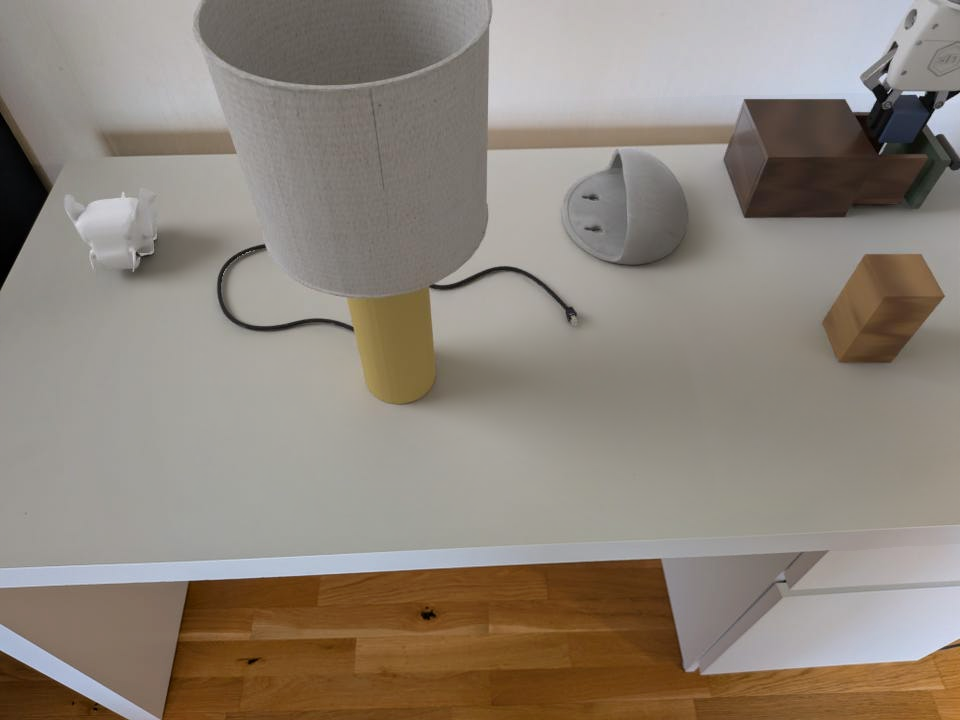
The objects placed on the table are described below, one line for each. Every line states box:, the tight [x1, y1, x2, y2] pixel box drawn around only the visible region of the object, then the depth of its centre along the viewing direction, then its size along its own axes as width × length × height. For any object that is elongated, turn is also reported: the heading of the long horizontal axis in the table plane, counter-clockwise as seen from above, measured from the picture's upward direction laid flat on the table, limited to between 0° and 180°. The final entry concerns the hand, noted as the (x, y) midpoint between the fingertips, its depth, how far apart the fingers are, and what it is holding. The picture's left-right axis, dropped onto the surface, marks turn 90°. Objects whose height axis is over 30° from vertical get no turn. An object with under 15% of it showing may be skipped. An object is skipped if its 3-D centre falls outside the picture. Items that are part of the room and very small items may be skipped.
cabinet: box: [723, 98, 879, 218], centre depth 91 cm, size 14×13×10 cm
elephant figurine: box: [63, 187, 158, 276], centre depth 82 cm, size 10×12×9 cm
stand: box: [821, 253, 946, 363], centre depth 74 cm, size 6×6×11 cm
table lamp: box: [192, 0, 578, 405], centre depth 63 cm, size 40×34×40 cm
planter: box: [561, 146, 689, 266], centre depth 88 cm, size 19×7×16 cm
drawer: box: [852, 111, 960, 210], centre depth 91 cm, size 17×11×8 cm
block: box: [876, 94, 929, 144], centre depth 86 cm, size 4×4×4 cm
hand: (891, 129), depth 87 cm, fingers closed on block, 4 cm apart
